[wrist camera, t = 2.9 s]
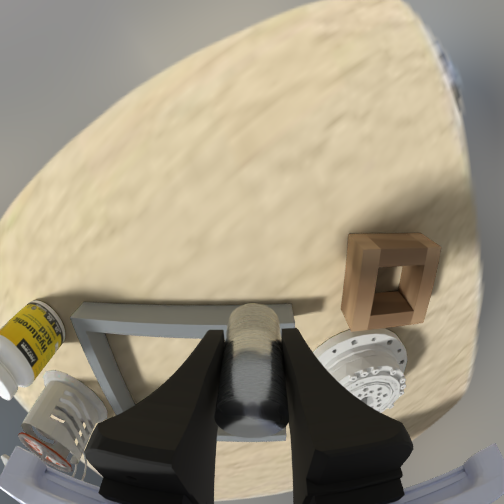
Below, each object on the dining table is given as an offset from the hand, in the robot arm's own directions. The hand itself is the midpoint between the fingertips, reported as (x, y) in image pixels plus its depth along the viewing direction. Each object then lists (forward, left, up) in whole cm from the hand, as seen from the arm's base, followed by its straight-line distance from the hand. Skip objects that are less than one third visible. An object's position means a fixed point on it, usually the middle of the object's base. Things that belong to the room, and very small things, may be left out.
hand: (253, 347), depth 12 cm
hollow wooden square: (-1, -9, -9) cm, 13 cm away
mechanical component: (-11, -9, -9) cm, 17 cm away
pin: (0, 0, -2) cm, 2 cm away
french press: (-19, +23, -9) cm, 31 cm away
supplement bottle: (-6, +21, -9) cm, 24 cm away
